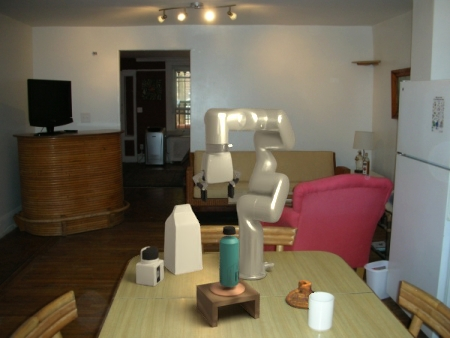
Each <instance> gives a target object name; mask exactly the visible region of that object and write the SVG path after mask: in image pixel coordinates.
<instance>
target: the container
mask: <svg viewBox="0 0 450 338" xmlns="http://www.w3.org/2000/svg"><path fill="white" fill-rule="evenodd" d="M159 253H160V252H159V248H157V247H156V246H145V247H142V248H141V250H140V261H138V262H137V263H135V283H136V285H142V286H149V287H156V286H157V285H159V284H160V283H161V282H162V281H163V280H164V279H165V274H164V273H165V271H164V268H165V266H164V259H160V257H159V256H160V255H159Z"/></svg>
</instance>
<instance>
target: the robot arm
mask: <svg viewBox="0 0 450 338" xmlns="http://www.w3.org/2000/svg"><path fill="white" fill-rule="evenodd" d="M203 122H204V123H203V124H204V127H205V128H204V131H205V132H204V133H205V136H204V137H205V139H204V140H205V142H204V143H205V152H202V156H201V157H202V158H201V164H200V166H201V167H200V172H198V173H196V174H195V175H194V176H192V180H193V182H194V183H195V184H194V185H196V187H198V188H199V189H200V190H199V191H200V199H201V201H202V202H204V203H207V202H208V190H207V188H208V187H209V185H214V184H222V183H227V184H228V185H227V197H228V198H230V199H234V196H235V187H236V185H237V184H238V182H240V181H239V180H240V178H241V176H242V172H241V171H239V170H236V169H234V167H233V159H232V154H231V152H230V149H232V148H233V145H232V143H229V132H254V134H253V138H252V139H253V146H254V152H255V156H256V160H255V165H254V167H253V171H252V173H251V175H250V178H249V181H248V191H249V192H250V193H251V194H243V195H240V197H238V199H237V201H236V212H237V219H238V240H239V255H240V256H239V278H241V279H242V280H246V281H247V280H248V281H255V280H256V281H257V280H261V279H264V278H265V277H266V276H268V275H267V273H268V272H267V269H269V268H270V269H271V268H275V263H274V262H268V261H264V233H265V232H264V228H263V225H262V224H261V222H265V223H269V224H270V223H271V224H273V223H274V224H275V223H276V222H278V221H279V220H280V218H281V216H282V214H283V211H284V208H285V205H286V202H287V198H288V195H289V191H290V184H291V183H290V178H289V177H288V175H286V174H284V173H282V172H276V170H277V168H278V162H277V160H276V158H275V156H274V155H273V153H272V151H283V152H289V151H291V150H292V149H294V147H295V144H296V135H295V131H294V129H293V127H292V124H291V121H290V119H289V117H288V115H287V113H286V112H285V111H284V110H283V109H280V108H253V107H238V108H226V107H225V108H222V107H218V108H217V107H212V108H209V109H207V110H206V112H205V113H204V116H203ZM234 175H235V176H234ZM200 181H201V182H200Z"/></svg>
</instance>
